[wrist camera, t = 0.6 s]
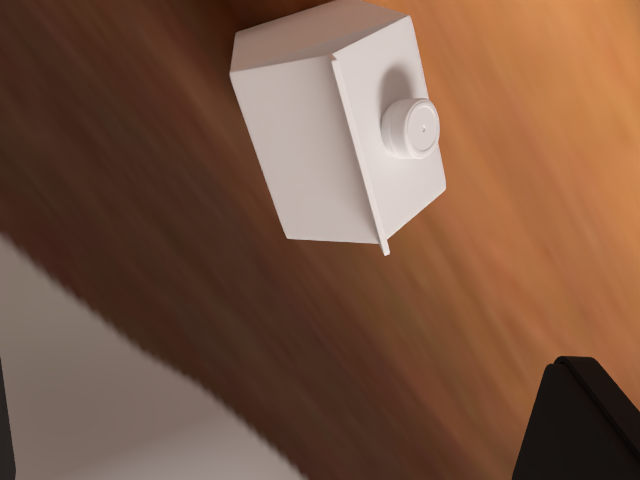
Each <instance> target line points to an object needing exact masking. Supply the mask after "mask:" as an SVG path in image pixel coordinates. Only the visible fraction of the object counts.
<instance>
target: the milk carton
mask: <svg viewBox="0 0 640 480" xmlns="http://www.w3.org/2000/svg"><path fill="white" fill-rule="evenodd" d="M230 79H231V82H232V85H233V88H234V91H235V94H236V97H237V100H238V103H239V106H240V108H241V111H242V114H243V117H244V120H245V123H246V126H247V128H248V131H249V134H250V137H251V140H252V143H253V146H254V148H255V151H256V154H257V157H258V160H259V163H260V165H261V168H262V171H263V174H264V177H265V180H266V183H267V185H268V188H269V191H270V194H271V197H272V200H273V202H274V205H275V208H276V211H277V214H278V217H279V219H280V222H281V225H282V228H283V230H284V233H285V235H286V237H287V238H288V239H302V240H321V241H340V242H358V243H377V244H379V245H380V247H381V249H382V251H383V253H384V255H388V254H389V253H390V251H389V247H388V243H387V239H388V238H389V237H390V236H392V235H393V234H394V233H395V232H396V231H398V230H399V229H400V228H401V227H402V226H403V225H405V224H406V223H407V222H408V221H409V220H411V219H412V218H413V217H414V216H415V215H416V214H418V213H419V212H420V211H421V210H422V209H424V208H425V207H426V206H427V205H428V204H429V203H431V202H432V201H433V200H434V199H435V198H437V197H438V196H439V195H440V194H441V193H442V192H444V191H445V190H446V181H445V175H444V169H443V164H442V160H441V155H440V150H439V145H438V139H439V132H440V125H439V118H438V114H437V111H436V108H435V107H434V105H433V104H432V102H431V101H429V97H428V93H427V88H426V83H425V78H424V73H423V69H422V64H421V59H420V54H419V50H418V45H417V41H416V36H415V32H414V27H413V24H412V20H411V18H410V16H409V15H407V14H404V13H401V12H398V11H394V10H391V9H388V8H385V7H381V6H378V5H375V4H372V3H369V2H365V1H362V0H335V1H332V2H329V3H325V4H322V5H319V6H316V7H313V8H310V9H307V10H304V11H301V12H297V13H294V14H291V15H288V16H285V17H282V18H279V19H276V20H273V21H269V22H266V23H263V24H260V25H257V26H254V27H251V28H248V29H245V30H241V31H238V32H236V33H235V40H234V47H233V54H232V61H231V68H230Z"/></svg>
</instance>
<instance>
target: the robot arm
mask: <svg viewBox="0 0 640 480" xmlns="http://www.w3.org/2000/svg"><path fill="white" fill-rule="evenodd" d="M15 474H16V468H15V460H14V453H13V446H12V438H11V431H10V424H9V416H8V410H7V403H6V395H5V388H4V380H3V373H2V366H1V359H0V480H15ZM512 480H640V412H639V411H638V409H637V408H636V407H635V406H634V405H633V403H632V402H631V401H630V400H629V399H628V397H627V396H626V395H625V394H624V393H623V391H622V390H621V389H620V388H619V387H618V385H617V384H616V383H615V382H614V381H613V379H612V378H611V377H610V376H609V375H608V373H607V372H606V371H605V370H604V369H603V367H602V366H601V365H600V364H599V363H598V361H596V360H595V359H594V358H591V357H576V356H560V357H558V358H557V359H556V360H555V362H554V364H549V365H547V367H546V368H545V371H544V374H543V377H542V380H541V383H540V387H539V390H538V393H537V397H536V400H535V403H534V406H533V410H532V413H531V416H530V419H529V423H528V426H527V429H526V432H525V436H524V439H523V442H522V445H521V449H520V452H519V455H518V459H517V462H516V465H515V468H514V472H513V475H512Z"/></svg>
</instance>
